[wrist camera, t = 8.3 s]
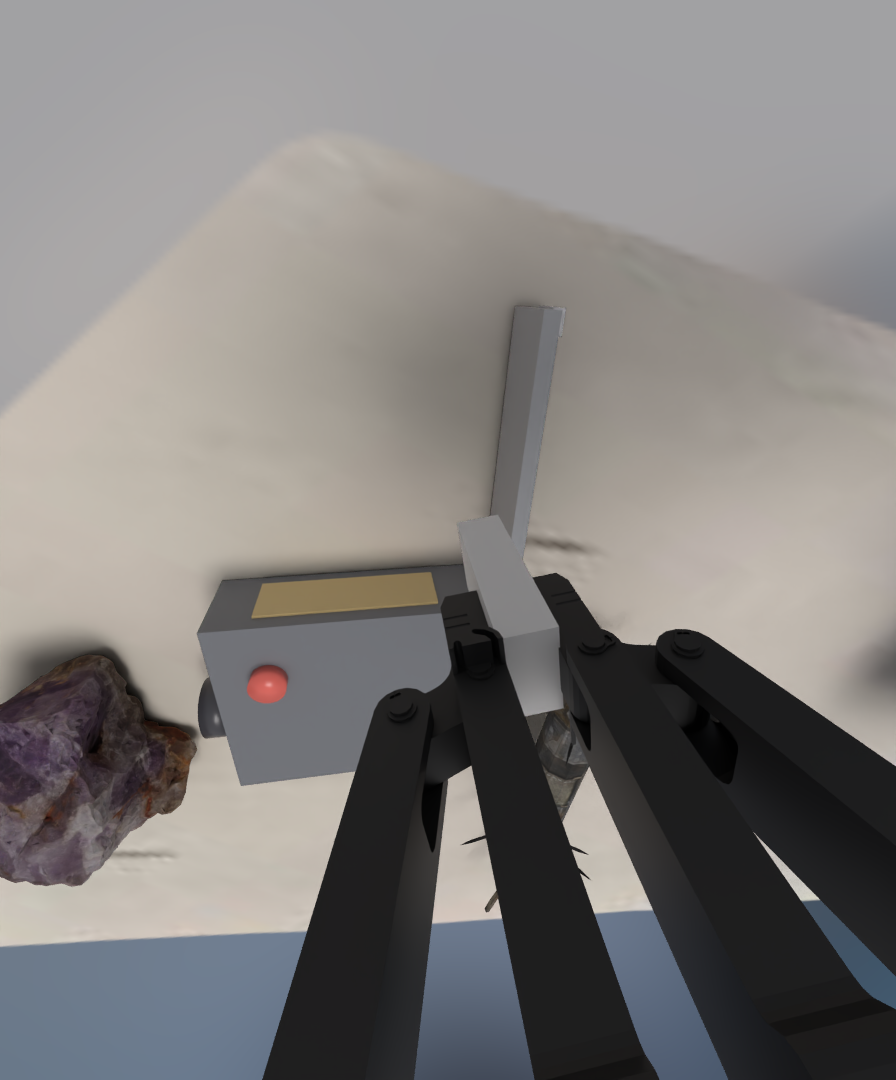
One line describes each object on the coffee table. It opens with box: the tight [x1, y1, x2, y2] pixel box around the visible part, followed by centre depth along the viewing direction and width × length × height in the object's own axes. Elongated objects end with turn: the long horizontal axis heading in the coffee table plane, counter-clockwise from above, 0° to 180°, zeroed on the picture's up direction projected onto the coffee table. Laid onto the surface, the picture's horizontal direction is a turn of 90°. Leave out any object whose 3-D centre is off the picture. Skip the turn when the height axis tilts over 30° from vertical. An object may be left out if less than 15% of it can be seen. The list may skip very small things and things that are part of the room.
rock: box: [0, 655, 197, 887], centre depth 28 cm, size 12×9×10 cm
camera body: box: [197, 564, 469, 786], centre depth 30 cm, size 19×12×6 cm, turn 89°
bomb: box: [462, 696, 589, 912], centre depth 36 cm, size 11×10×30 cm
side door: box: [490, 305, 566, 560], centre depth 25 cm, size 15×2×5 cm, turn 176°
